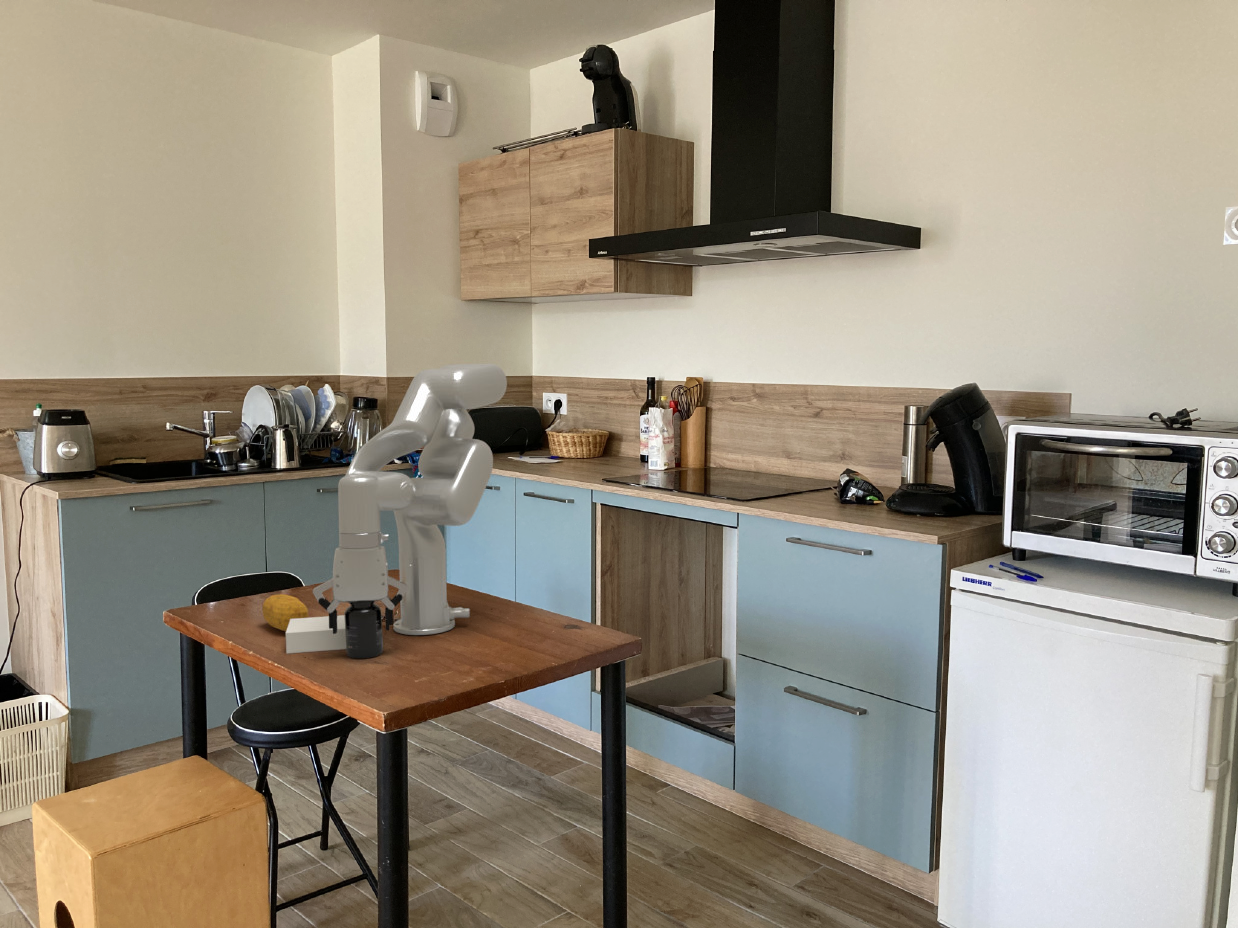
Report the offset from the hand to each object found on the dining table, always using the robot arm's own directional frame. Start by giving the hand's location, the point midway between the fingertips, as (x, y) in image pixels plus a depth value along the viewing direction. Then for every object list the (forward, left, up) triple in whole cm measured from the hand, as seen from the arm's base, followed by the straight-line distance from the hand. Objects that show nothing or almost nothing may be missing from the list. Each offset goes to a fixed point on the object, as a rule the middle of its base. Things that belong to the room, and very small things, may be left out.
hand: (361, 630), depth 181 cm
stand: (+9, -11, -5) cm, 14 cm away
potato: (+16, -24, -5) cm, 29 cm away
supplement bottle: (0, -1, -5) cm, 5 cm away
